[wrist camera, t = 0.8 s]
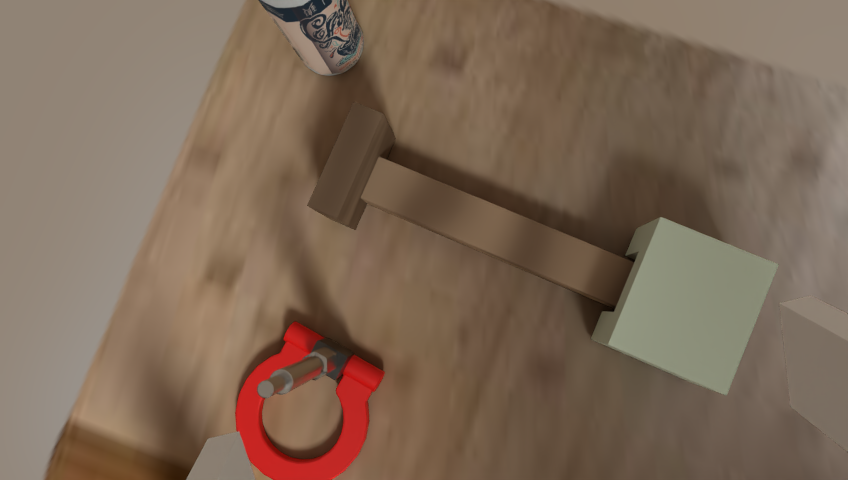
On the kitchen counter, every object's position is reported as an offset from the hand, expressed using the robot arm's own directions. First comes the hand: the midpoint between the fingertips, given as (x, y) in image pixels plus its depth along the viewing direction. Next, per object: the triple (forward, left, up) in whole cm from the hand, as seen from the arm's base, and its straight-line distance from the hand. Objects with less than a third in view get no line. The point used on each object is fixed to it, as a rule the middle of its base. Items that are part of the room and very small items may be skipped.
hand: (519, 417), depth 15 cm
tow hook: (+10, +9, -29) cm, 31 cm away
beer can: (+19, -15, -28) cm, 37 cm away
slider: (-9, -7, -28) cm, 30 cm away
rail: (0, -7, -28) cm, 29 cm away
